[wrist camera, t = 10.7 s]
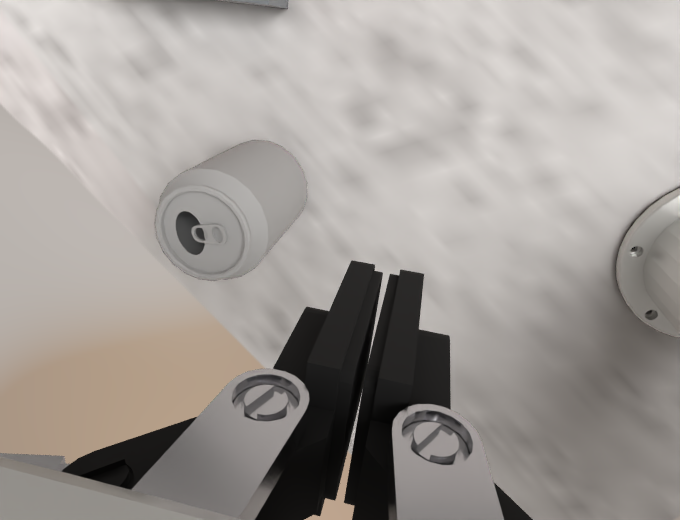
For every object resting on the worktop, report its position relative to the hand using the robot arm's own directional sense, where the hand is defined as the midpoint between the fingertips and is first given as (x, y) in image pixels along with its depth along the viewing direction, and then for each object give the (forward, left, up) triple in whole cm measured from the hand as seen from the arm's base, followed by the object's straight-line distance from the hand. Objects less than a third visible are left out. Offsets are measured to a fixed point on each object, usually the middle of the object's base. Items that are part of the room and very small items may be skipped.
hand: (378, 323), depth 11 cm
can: (+12, +6, -27) cm, 30 cm away
